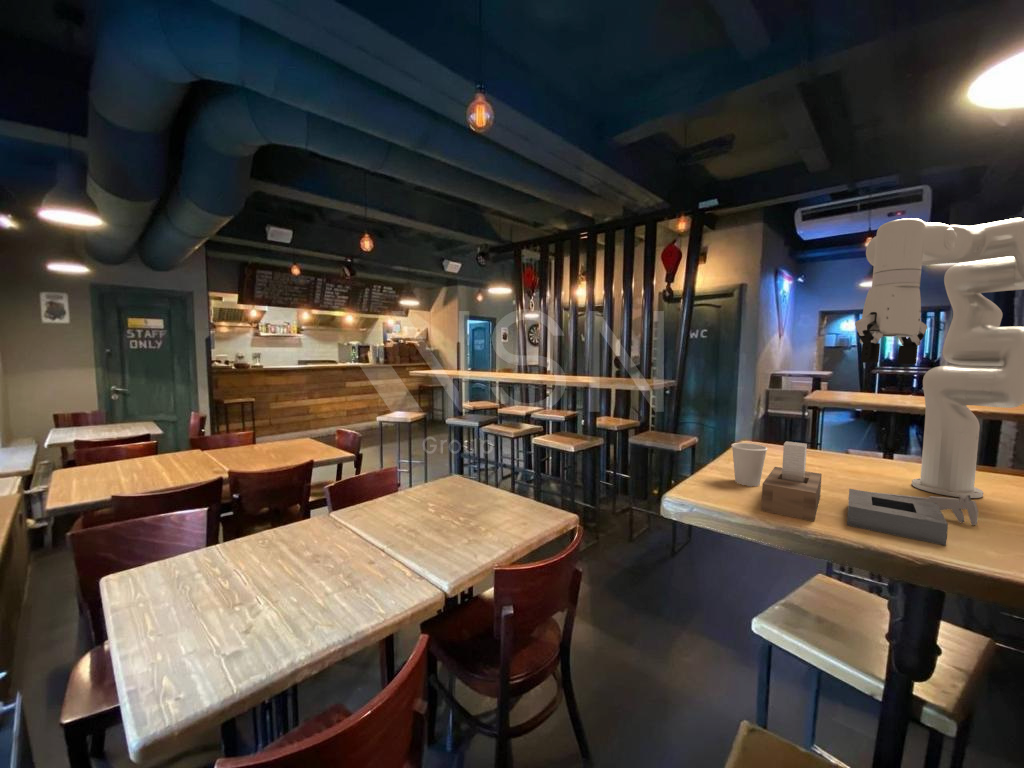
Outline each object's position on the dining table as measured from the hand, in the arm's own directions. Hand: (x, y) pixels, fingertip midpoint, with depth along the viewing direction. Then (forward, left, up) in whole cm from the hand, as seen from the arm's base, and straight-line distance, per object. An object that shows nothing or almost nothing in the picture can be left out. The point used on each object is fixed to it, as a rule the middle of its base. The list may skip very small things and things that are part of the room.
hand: (888, 363), depth 89 cm
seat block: (+6, +2, -32) cm, 33 cm away
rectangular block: (+6, -15, -32) cm, 36 cm away
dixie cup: (-5, -26, -33) cm, 42 cm away
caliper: (-8, +6, -33) cm, 34 cm away
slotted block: (+6, -15, -32) cm, 36 cm away
